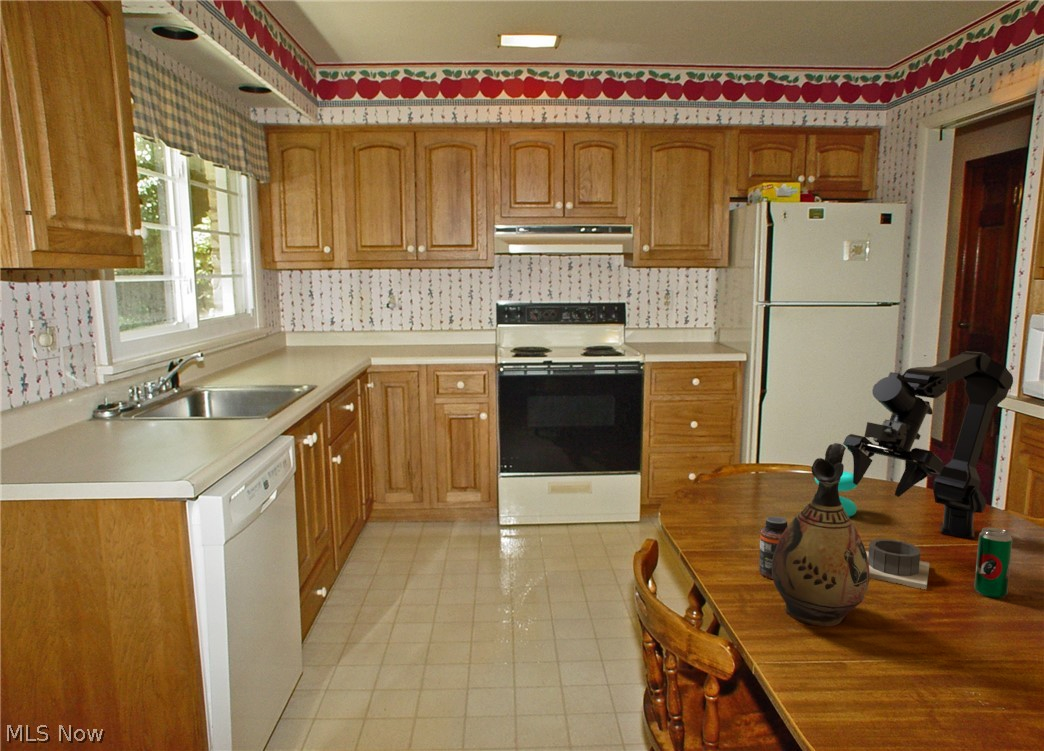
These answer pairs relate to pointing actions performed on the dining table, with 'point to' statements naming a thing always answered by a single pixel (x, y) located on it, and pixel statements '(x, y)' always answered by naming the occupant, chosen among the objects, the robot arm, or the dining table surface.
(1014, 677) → the dining table surface
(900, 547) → the collar socket
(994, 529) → the soda can
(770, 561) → the supplement bottle
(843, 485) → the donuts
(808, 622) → the ceramic jug
